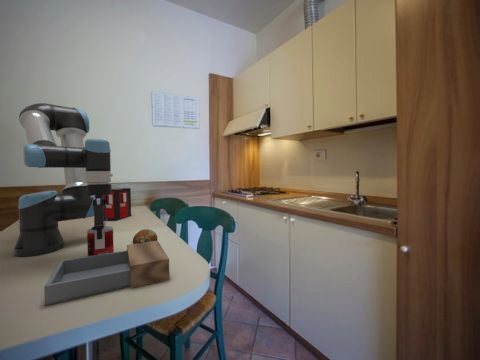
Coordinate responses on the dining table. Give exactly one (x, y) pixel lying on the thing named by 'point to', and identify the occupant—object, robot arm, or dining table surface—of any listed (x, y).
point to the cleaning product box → (118, 204)
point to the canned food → (108, 242)
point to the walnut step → (147, 263)
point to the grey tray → (87, 277)
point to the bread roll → (144, 236)
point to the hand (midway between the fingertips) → (101, 243)
